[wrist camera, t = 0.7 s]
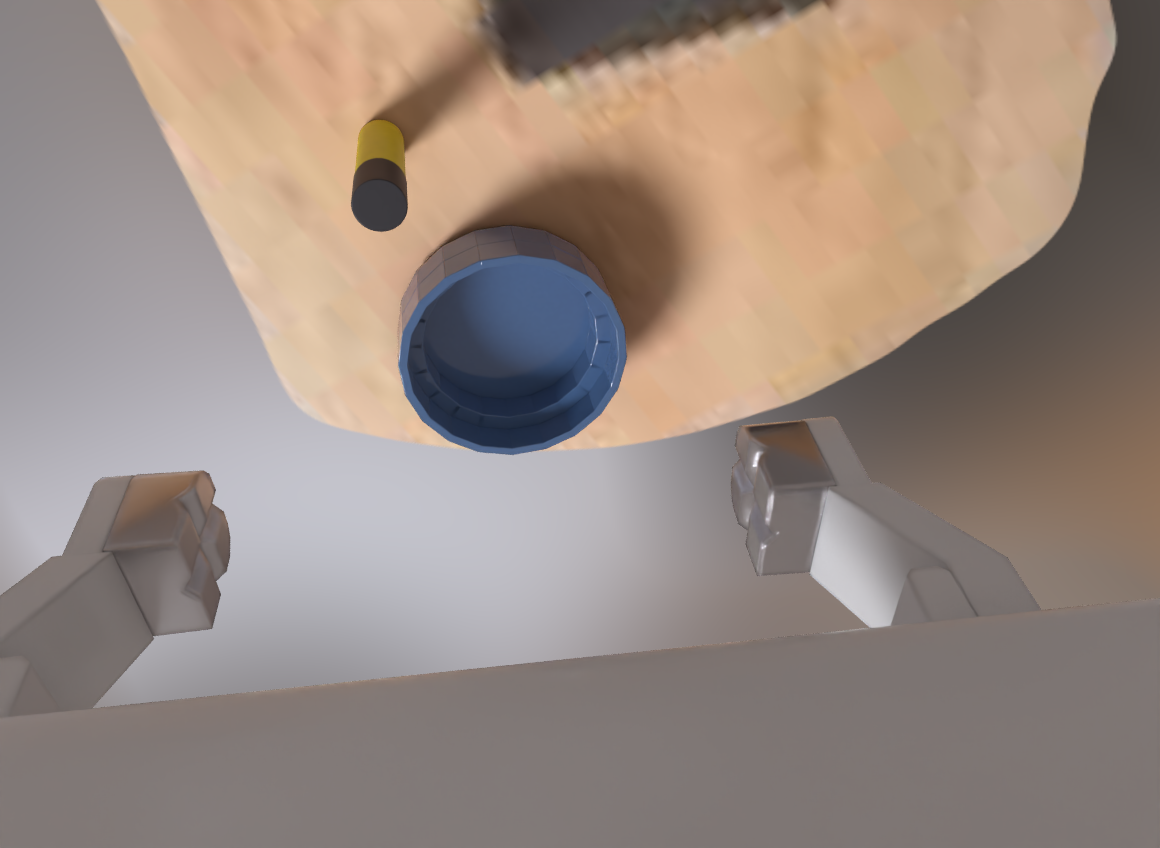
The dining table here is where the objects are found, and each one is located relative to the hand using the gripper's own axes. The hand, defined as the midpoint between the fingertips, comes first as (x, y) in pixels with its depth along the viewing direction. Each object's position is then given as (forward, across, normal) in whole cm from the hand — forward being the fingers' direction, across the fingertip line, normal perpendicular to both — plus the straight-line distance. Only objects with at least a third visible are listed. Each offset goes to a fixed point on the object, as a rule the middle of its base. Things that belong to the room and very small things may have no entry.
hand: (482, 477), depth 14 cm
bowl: (+45, -1, +26) cm, 52 cm away
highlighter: (+46, +6, +12) cm, 48 cm away
